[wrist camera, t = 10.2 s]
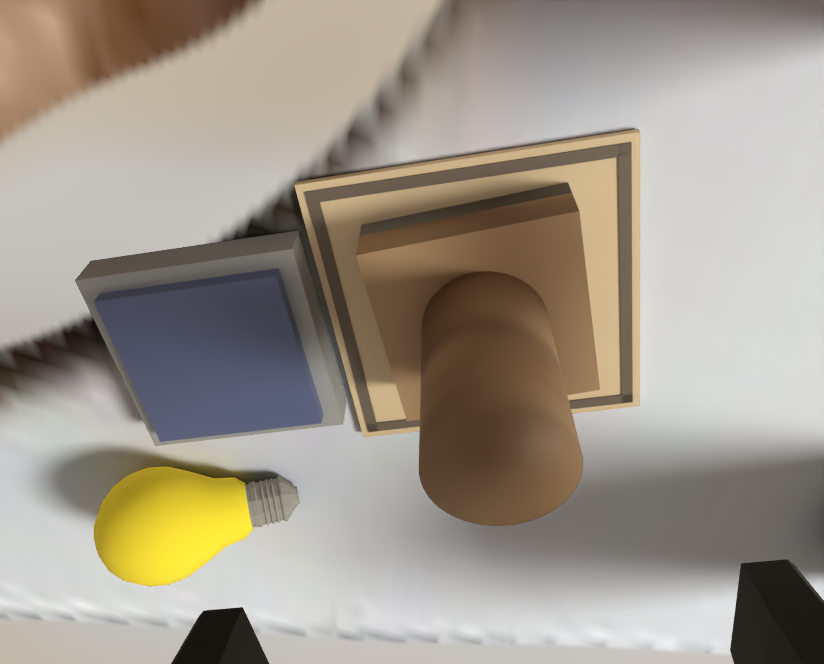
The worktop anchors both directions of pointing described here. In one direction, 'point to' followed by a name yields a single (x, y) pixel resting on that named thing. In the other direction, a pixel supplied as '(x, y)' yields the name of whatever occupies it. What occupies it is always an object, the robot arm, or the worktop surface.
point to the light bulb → (181, 521)
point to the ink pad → (218, 338)
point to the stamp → (488, 346)
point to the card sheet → (468, 182)
